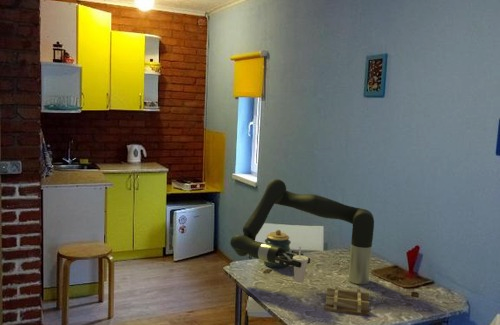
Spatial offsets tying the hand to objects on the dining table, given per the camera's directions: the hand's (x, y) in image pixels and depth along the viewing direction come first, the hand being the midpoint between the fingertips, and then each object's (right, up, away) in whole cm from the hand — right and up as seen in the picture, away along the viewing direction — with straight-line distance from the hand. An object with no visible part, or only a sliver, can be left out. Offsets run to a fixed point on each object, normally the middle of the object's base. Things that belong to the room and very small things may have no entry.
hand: (305, 262), depth 194 cm
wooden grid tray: (+17, -17, +1) cm, 24 cm away
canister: (-9, -10, +46) cm, 48 cm away
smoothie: (-2, -8, +2) cm, 9 cm away
